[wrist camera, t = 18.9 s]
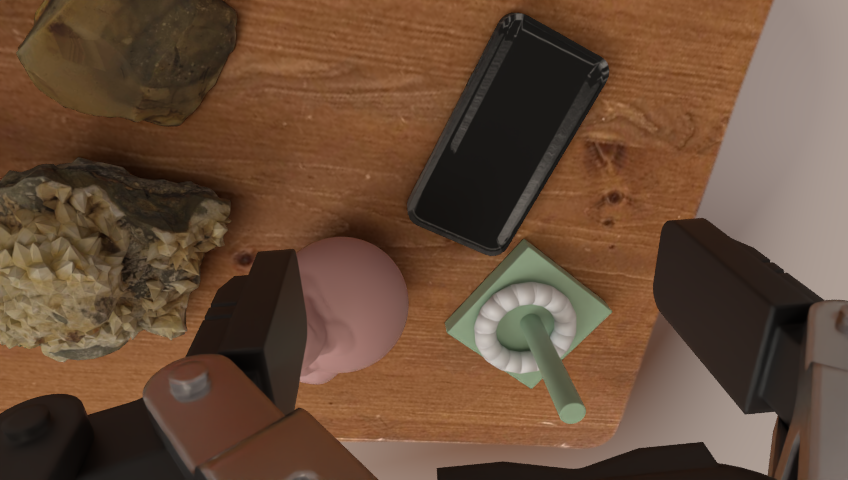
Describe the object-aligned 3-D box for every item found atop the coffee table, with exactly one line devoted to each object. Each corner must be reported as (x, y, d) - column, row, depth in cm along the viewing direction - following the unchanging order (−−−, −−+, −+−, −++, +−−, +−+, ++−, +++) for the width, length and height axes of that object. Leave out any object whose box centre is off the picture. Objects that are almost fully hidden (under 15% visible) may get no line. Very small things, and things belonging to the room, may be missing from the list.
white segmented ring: (520, 259, 40) (525, 270, 39) (592, 313, 43) (600, 324, 41) (452, 332, 43) (455, 345, 41) (525, 379, 45) (530, 393, 44)
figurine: (244, 310, 42) (200, 425, 31) (324, 193, 39) (305, 275, 28) (346, 363, 45) (338, 485, 34) (428, 257, 41) (449, 354, 31)
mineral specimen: (204, 354, 43) (159, 452, 34) (20, 311, 40) (-81, 404, 31) (248, 183, 38) (209, 244, 29) (41, 119, 35) (-74, 166, 26)
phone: (616, 65, 36) (499, 260, 41) (609, 63, 37) (496, 254, 42) (509, 5, 34) (400, 218, 39) (505, 4, 35) (399, 212, 40)
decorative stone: (122, -99, 31) (93, -110, 28) (263, 25, 34) (251, 29, 31) (25, 49, 34) (-12, 55, 30) (163, 152, 37) (143, 167, 33)
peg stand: (523, 238, 41) (574, 323, 31) (605, 301, 44) (677, 399, 34) (444, 322, 44) (467, 427, 33) (526, 377, 47) (571, 490, 36)
